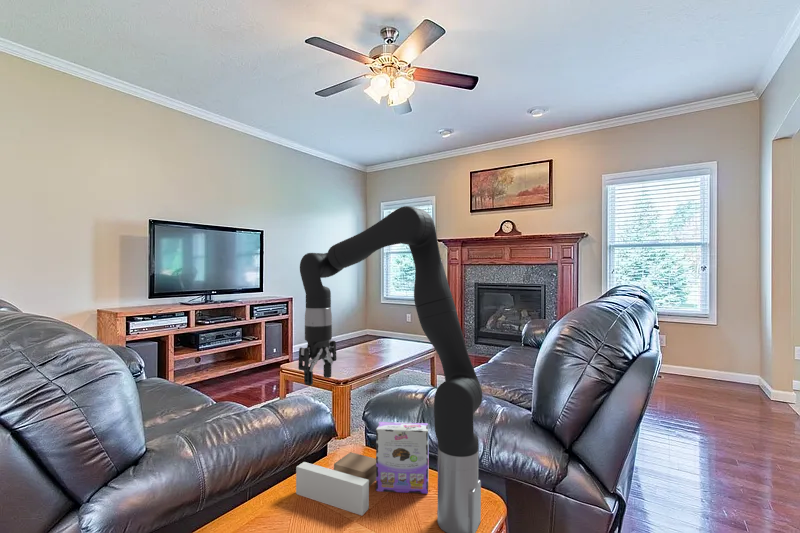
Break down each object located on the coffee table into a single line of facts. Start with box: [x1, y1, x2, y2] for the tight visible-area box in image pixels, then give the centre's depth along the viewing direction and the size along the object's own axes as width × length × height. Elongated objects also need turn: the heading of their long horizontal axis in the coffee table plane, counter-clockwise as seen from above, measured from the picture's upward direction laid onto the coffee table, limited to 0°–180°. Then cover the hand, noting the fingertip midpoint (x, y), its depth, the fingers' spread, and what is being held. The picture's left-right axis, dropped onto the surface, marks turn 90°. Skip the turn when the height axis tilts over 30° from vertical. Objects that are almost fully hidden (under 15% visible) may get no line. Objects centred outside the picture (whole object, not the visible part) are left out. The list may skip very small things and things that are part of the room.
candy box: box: [375, 421, 430, 494], centre depth 106 cm, size 14×6×16 cm, turn 84°
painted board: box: [295, 461, 370, 516], centre depth 100 cm, size 20×3×7 cm, turn 64°
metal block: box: [333, 451, 376, 487], centre depth 110 cm, size 10×8×5 cm
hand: (318, 381), depth 113 cm, fingers open, 8 cm apart
